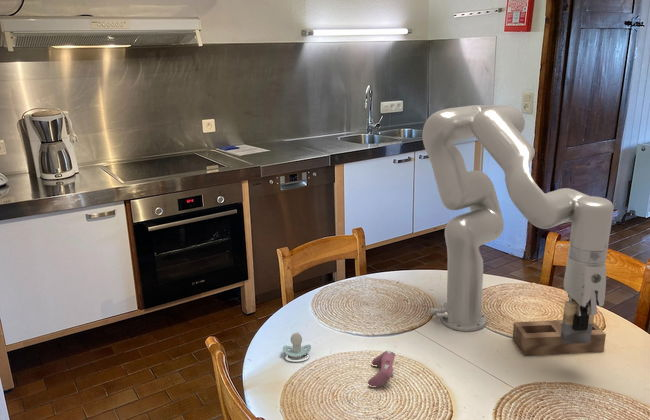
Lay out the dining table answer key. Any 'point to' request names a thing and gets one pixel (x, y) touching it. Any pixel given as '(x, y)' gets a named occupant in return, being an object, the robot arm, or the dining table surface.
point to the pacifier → (296, 347)
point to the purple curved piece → (383, 368)
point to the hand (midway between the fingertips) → (576, 326)
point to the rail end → (567, 332)
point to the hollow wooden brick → (552, 339)
